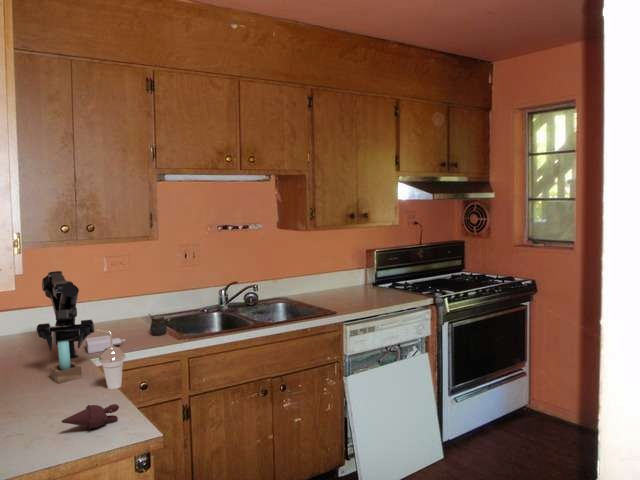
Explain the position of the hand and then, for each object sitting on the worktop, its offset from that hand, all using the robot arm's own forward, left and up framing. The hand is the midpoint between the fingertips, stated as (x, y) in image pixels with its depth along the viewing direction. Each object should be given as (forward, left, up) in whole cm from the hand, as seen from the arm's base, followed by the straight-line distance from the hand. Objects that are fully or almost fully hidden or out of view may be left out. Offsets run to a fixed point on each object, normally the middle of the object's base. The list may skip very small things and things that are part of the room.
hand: (64, 349), depth 199 cm
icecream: (+50, -10, -10) cm, 52 cm away
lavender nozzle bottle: (-22, +23, -10) cm, 33 cm away
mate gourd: (-24, +47, -10) cm, 54 cm away
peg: (+2, -1, -10) cm, 10 cm away
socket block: (+2, -1, -10) cm, 10 cm away
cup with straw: (+23, +7, -10) cm, 26 cm away
